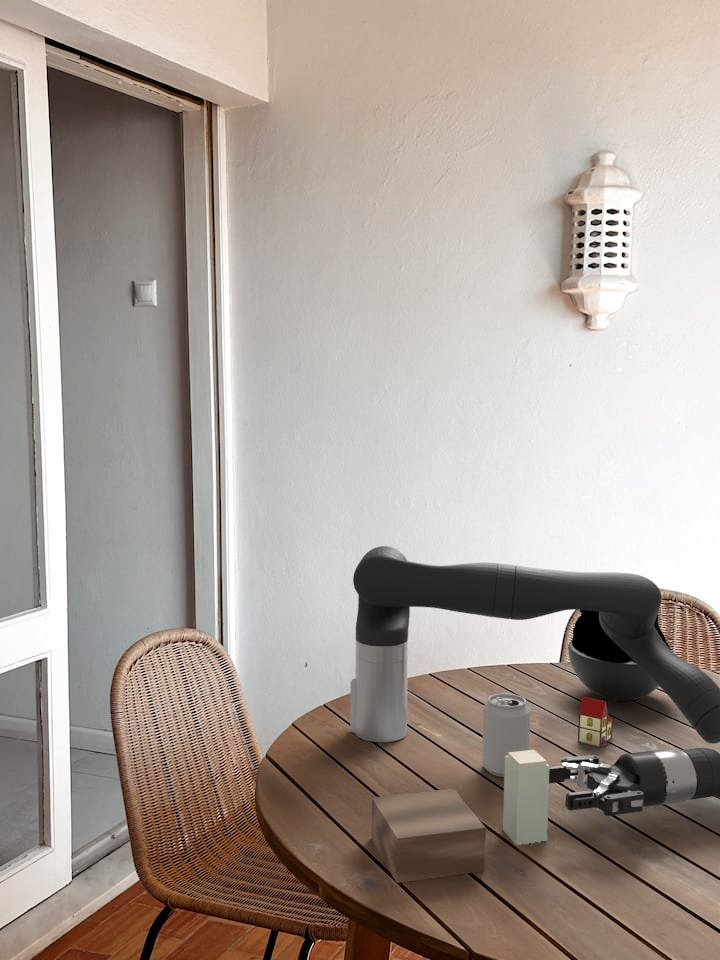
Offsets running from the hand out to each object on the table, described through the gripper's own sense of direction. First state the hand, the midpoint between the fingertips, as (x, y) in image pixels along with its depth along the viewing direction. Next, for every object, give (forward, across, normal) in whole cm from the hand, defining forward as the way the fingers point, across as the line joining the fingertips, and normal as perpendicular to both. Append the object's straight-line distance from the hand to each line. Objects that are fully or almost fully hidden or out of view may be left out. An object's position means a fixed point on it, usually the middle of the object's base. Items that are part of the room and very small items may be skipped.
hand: (553, 788), depth 139 cm
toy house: (-22, -32, +7) cm, 39 cm away
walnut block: (+19, +2, +6) cm, 20 cm away
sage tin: (+4, 0, +6) cm, 8 cm away
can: (-2, -21, +7) cm, 23 cm away
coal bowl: (-37, -48, +7) cm, 61 cm away
